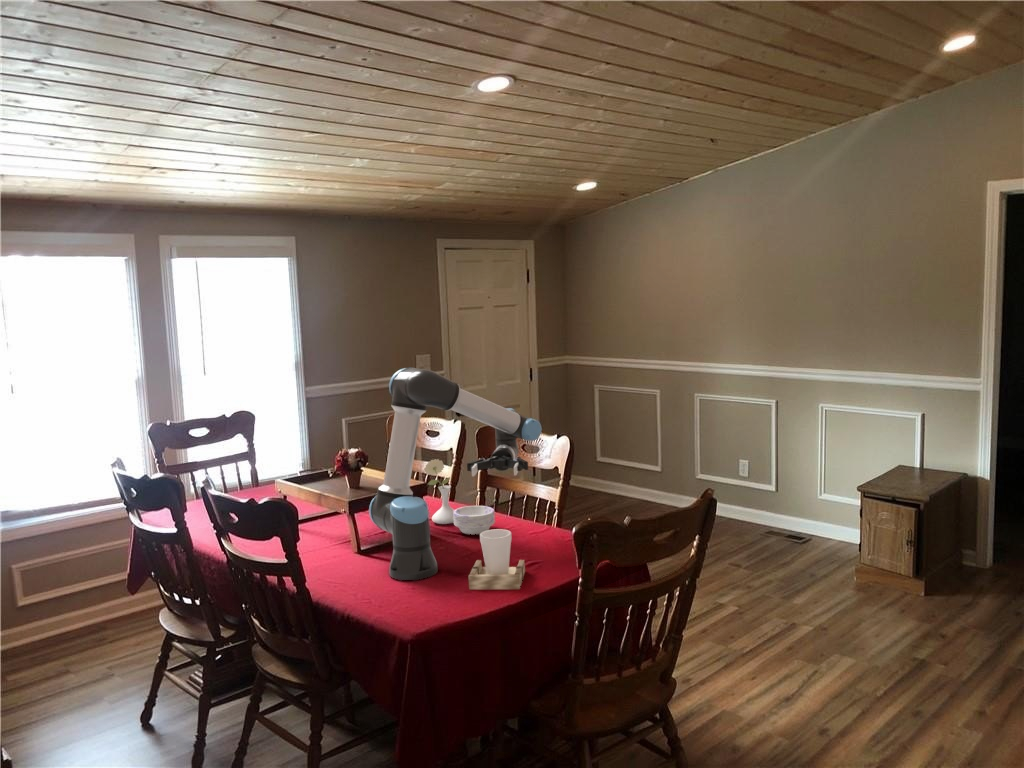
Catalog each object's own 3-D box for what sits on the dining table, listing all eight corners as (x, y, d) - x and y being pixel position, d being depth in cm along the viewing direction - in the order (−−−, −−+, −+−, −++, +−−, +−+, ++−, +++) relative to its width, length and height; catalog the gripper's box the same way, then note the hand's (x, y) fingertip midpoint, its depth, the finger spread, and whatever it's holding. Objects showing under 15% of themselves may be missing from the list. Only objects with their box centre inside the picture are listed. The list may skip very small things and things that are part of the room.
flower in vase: (461, 517, 314) (457, 454, 311) (461, 525, 303) (457, 460, 300) (428, 519, 313) (424, 456, 311) (427, 527, 302) (422, 462, 299)
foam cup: (509, 581, 236) (507, 538, 235) (479, 580, 238) (476, 538, 237) (515, 570, 246) (513, 529, 244) (486, 569, 247) (484, 528, 246)
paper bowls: (504, 530, 294) (502, 509, 293) (472, 540, 284) (470, 518, 283) (477, 522, 305) (476, 502, 304) (446, 532, 295) (444, 511, 294)
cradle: (468, 589, 236) (467, 576, 235) (477, 571, 250) (476, 559, 250) (520, 589, 234) (519, 576, 233) (526, 571, 248) (525, 559, 248)
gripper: (539, 467, 274) (533, 482, 253) (468, 469, 277) (456, 484, 256) (538, 446, 273) (532, 459, 252) (466, 448, 277) (454, 461, 256)
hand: (493, 471), depth 254 cm, fingers open, 13 cm apart
